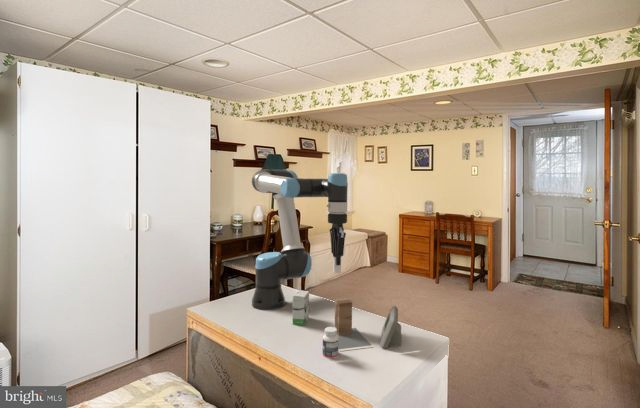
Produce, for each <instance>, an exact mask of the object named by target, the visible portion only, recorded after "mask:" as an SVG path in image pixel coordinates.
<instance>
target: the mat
mask: <svg viewBox="0 0 640 408" xmlns="http://www.w3.org/2000/svg"><path fill="white" fill-rule="evenodd" d="M337 335H338V334H337ZM338 337H339V344H338V351H339V352H348V351H350V352H351V351H356V350H357V351H358V350H365V349H373V348H374V346H373V345H372V344H371V343H370V341H368V340H367V338H366V337H365V336H364V335H363V334H362V333H361V332H360V331H359V330H358V328H356V327H352V334H348V335H338Z"/></svg>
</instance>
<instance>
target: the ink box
mask: <svg viewBox="0 0 640 408" xmlns="http://www.w3.org/2000/svg"><path fill="white" fill-rule="evenodd" d="M309 312H310V291H309V290H308V291H307V290H301V289H299V290H296V292H295V293H294V294H293V296H292V325H293V326H294V325H295V326H305V325H306V324H307V321H308V320H309V318H310V317H309V316H310V315H309Z"/></svg>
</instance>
